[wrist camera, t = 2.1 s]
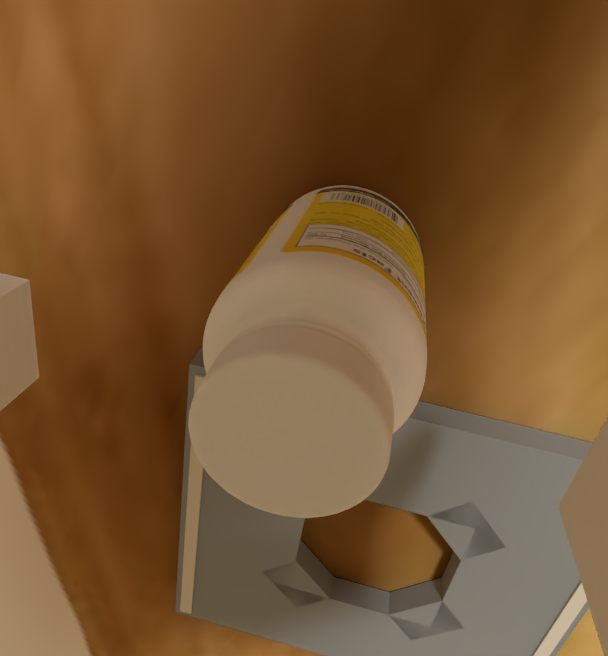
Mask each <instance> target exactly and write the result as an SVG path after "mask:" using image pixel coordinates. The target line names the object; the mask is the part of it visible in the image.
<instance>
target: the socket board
mask: <svg viewBox="0 0 608 656" xmlns="http://www.w3.org/2000/svg"><path fill="white" fill-rule="evenodd" d="M205 375H206V371H205V367H204V361H203V349H202V348H200V349H199V351H198V352H197V354H196V355H195V356H194V358H193V359H192V361H191V362H190V363H189V376H188V394H187V412H186V429H185V447H184V465H183V482H182V500H181V517H180V535H179V553H178V570H177V588H176V605H175V612H176V613H180V614H183V615H187V616H190V617H193V618H197V619H200V620H204V621H207V622H211V623H214V624H218V625H221V626H224V627H228V628H231V629H235V630H238V631H242V632H245V633H249V634H252V635H255V636H259V637H262V638H266V639H269V640H273V641H276V642H279V643H283V644H286V645H290V646H293V647H297V648H300V649H304V650H307V651H310V652H314V653H317V654H321V655H324V656H556V654H557V653H558V651H559V650H560V649H561V647H562V646H563V644H564V643H565V641H566V640H567V638H568V637H569V636H570V634H571V633H572V631H573V630H574V628H575V627H576V625H577V624H578V623H579V621H580V620H581V618H582V617H583V615H584V614H585V612H586V611H587V610H588V608H589V604H588V601H587V598H586V595H585V592H584V588H583V585H582V582H581V579H580V575H579V572H578V569H577V566H576V562H575V559H574V556H573V553H572V550H571V546H570V543H569V540H568V537H567V533H566V530H565V527H564V524H563V521H562V517H561V514H560V511H559V508H558V507H559V505H560V503H561V501H562V499H563V498H564V496H565V494H566V492H567V490H568V488H569V487H570V485H571V483H572V481H573V479H574V477H575V476H576V474H577V472H578V470H579V468H580V466H581V465H582V463H583V461H584V459H585V457H586V455H587V454H588V452H589V450H590V448H591V446H592V444H593V443H591V442H587V441H583V440H579V439H575V438H571V437H566V436H562V435H558V434H554V433H550V432H546V431H542V430H537V429H533V428H529V427H525V426H521V425H517V424H513V423H508V422H504V421H500V420H496V419H492V418H488V417H484V416H479V415H475V414H471V413H467V412H463V411H459V410H455V409H450V408H446V407H442V406H438V405H434V404H430V403H426V402H421V401H418V403H417V405H416V407H415V408H414V410H413V412H412V413H411V415H410V416H409V418H408V419H407V420H406V422H405V423H404V424H403V425H402V426H401V427H400V428H399V429H398V430H397V431H396V432H395V433H393V434H392V443H391V452H390V460H389V464H388V467H387V470H386V472H385V475H384V477H383V479H382V480H381V482H380V483H379V485H378V487H377V488H376V489H375V490H374V491H373V492H372V493H371V494H370V495H369V496H368V497H367V498H366V499H364V500H367V501H371V502H374V503H378V504H382V505H386V506H390V507H394V508H397V509H401V510H405V511H409V512H413V513H417V514H420V515H424V516H427V517H428V518H429V520H430V521H431V522H432V524H433V525H434V526H435V527H436V529H437V530H438V531H439V533H440V534H441V535H442V537H443V538H444V539H445V540H446V542H447V543H448V544H449V546H450V547H451V548H452V550H453V553H452V555H451V558H450V560H449V562H448V564H447V567H446V569H445V571H444V573H443V576H442V578H439V579H435V580H432V581H428V582H424V583H421V584H417V585H414V586H410V587H407V588H403V589H399V590H396V591H392V592H387V591H383V590H380V589H376V588H373V587H369V586H365V585H362V584H358V583H354V582H351V581H347V580H344V579H340V578H336V577H333V576H332V574H331V573H330V572H329V571H328V570H327V569H326V568H325V566H324V565H323V564H322V563H321V562H320V561H319V560H318V559H317V557H316V556H315V555H314V554H313V553H312V552H311V551H310V550H309V548H308V547H307V546H306V545H305V544H304V543H303V542H302V541H301V535H302V531H303V526H304V522H305V519H306V518H296V517H288V516H282V515H277V514H273V513H269V512H266V511H263V510H260V509H257V508H255V507H253V506H250V505H248V504H246V503H244V502H242V501H241V500H239V499H237V498H236V497H234V496H232V495H231V494H229V493H228V492H227V491H226V490H224V489H223V488H222V487H221V486H220V485H219V484H218V483H217V482H216V481H214V480H213V479H212V477H211V476H210V475H209V474H208V473H207V472H206V470H205V469H204V467H203V466H202V465H201V463H200V462H199V460H198V458H197V456H196V453H195V451H194V448H193V446H192V443H191V439H190V435H189V427H188V419H189V411H190V407H191V403H192V400H193V397H194V395H195V393H196V391H197V389H198V388H199V386H200V384H201V382H202V381H203V379H204V377H205Z"/></svg>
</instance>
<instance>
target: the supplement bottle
mask: <svg viewBox="0 0 608 656" xmlns="http://www.w3.org/2000/svg"><path fill="white" fill-rule="evenodd" d="M203 361H204V367H205V371H206V375H205V377H204V379H203V381H202V382H201V384H200V386H199V388H198V389H197V391H196V393H195V395H194V397H193V400H192V403H191V407H190V411H189V419H188V427H189V435H190V439H191V443H192V446H193V448H194V451H195V453H196V456H197V458H198V460H199V462H200V463H201V465H202V466H203V467H204V469H205V470H206V472H207V473H208V474H209V475H210V476H211V477H212V479H213V480H214V481H216V482H217V483H218V484H219V485H220V486H221V487H222V488H223V489H224V490H226V491H227V492H228V493H229V494H231V495H232V496H234V497H236V498H237V499H239V500H241V501H242V502H244V503H246V504H248V505H250V506H253V507H255V508H257V509H260V510H263V511H266V512H269V513H273V514H277V515H282V516H288V517H296V518H313V517H323V516H328V515H333V514H337V513H340V512H342V511H345V510H348V509H350V508H351V507H353V506H355V505H357V504H359V503H360V502H362V501H363V500H364V499H366V498H367V497H368V496H369V495H370V494H371V493H372V492H373V491H374V490H375V489H376V488H377V487H378V485H379V483H380V482H381V480H382V479H383V477H384V475H385V472H386V470H387V467H388V464H389V460H390V452H391V443H392V434H393V433H395V432H396V431H397V430H398V429H399V428H400V427H401V426H402V425H403V424H404V423H405V422H406V420H407V419H408V418H409V416H410V415H411V413H412V412H413V410H414V408H415V407H416V405H417V403H418V401H419V398H420V396H421V393H422V390H423V387H424V382H425V378H426V368H427V332H426V303H425V278H424V260H423V251H422V247H421V244H420V240H419V237H418V235H417V232H416V231H415V229H414V227H413V225H412V223H411V222H410V220H409V219H408V217H407V216H406V215H405V213H404V212H403V211H402V210H401V209H400V208H399V207H398V206H397V205H395V204H394V203H393V202H391V201H390V200H389V199H387V198H386V197H384V196H382V195H381V194H378V193H376V192H374V191H371V190H368V189H365V188H361V187H357V186H348V185H337V186H329V187H324V188H320V189H317V190H314V191H312V192H309V193H307V194H305V195H303V196H302V197H300V198H299V199H297V200H296V201H294V202H293V203H292V204H291V205H290V206H289V207H287V208H286V209H285V210H284V212H283V213H282V214H281V215H280V216H279V217H278V218H277V220H276V221H275V222H274V223H273V225H272V226H271V227H270V229H269V230H268V231H267V233H266V234H265V235H264V237H263V238H262V239H261V241H260V242H259V243H258V245H257V246H256V247H255V249H254V250H253V251H252V253H251V254H250V255H249V257H248V258H247V259H246V261H245V262H244V263H243V265H242V266H241V267H240V269H239V270H238V271H237V273H236V274H235V275H234V276H233V278H232V279H231V280H230V282H229V283H228V284H227V286H226V287H225V289H224V290H223V291H222V293H221V294H220V296H219V297H218V299H217V301H216V303H215V304H214V306H213V308H212V310H211V312H210V315H209V317H208V320H207V323H206V326H205V331H204V336H203Z"/></svg>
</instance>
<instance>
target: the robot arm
mask: <svg viewBox="0 0 608 656" xmlns="http://www.w3.org/2000/svg"><path fill="white" fill-rule="evenodd" d="M38 378H39V369H38V359H37V349H36V339H35V329H34V319H33V309H32V299H31V288H30V280H28V279H24V278H20V277H16V276H11V275H7V274H3V273H0V411H1V410H2V409H3V408H5V407H6V406H7V405H8V404H9V403H10V402H12V401H13V400H14V399H15V398H16V397H17V396H18V395H20V394H21V393H22V392H23V391H24V390H25V389H27V388H28V387H29V386H30V385H31V384H32V383H33V382H35V381H36V380H37V379H38ZM558 508H559V511H560V514H561V517H562V521H563V524H564V527H565V530H566V533H567V537H568V540H569V543H570V546H571V550H572V553H573V556H574V559H575V562H576V566H577V569H578V572H579V575H580V579H581V582H582V585H583V588H584V592H585V595H586V598H587V601H588V604H589V608H590V611H591V614H592V617H593V621H594V624H595V627H596V630H597V633H598V637H599V640H600V643H601V646H602V650H603V653H604V656H608V417H607V419H606V420H605V422H604V424H603V426H602V428H601V430H600V431H599V433H598V435H597V437H596V439H595V441H594V442H593V444H592V446H591V448H590V450H589V452H588V454H587V455H586V457H585V459H584V461H583V463H582V465H581V466H580V468H579V470H578V472H577V474H576V476H575V477H574V479H573V481H572V483H571V485H570V487H569V488H568V490H567V492H566V494H565V496H564V498H563V499H562V501H561V503H560V505H559V507H558Z"/></svg>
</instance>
